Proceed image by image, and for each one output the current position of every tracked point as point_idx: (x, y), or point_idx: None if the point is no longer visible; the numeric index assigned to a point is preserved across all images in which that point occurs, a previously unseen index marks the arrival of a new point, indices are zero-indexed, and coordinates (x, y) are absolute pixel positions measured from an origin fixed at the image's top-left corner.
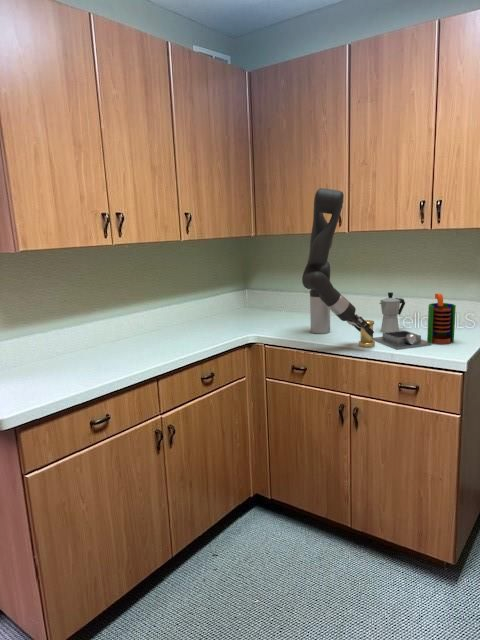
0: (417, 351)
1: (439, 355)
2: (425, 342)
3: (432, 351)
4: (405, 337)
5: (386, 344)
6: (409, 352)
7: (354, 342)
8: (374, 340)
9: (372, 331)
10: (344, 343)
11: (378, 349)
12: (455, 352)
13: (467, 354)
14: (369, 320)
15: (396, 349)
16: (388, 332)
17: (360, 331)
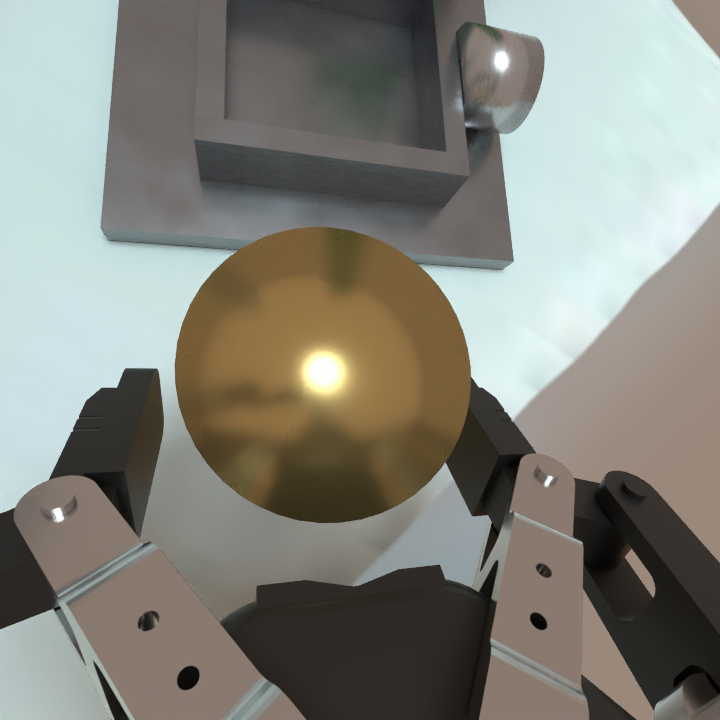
0: (576, 184)
1: (676, 146)
2: (461, 13)
3: (598, 114)
4: (466, 101)
5: None
6: (584, 241)
7: None
8: (143, 241)
9: (497, 406)
10: None
11: None
12: (644, 39)
13: (686, 28)
14: (273, 267)
15: (497, 268)
16: (198, 71)
17: (161, 423)
